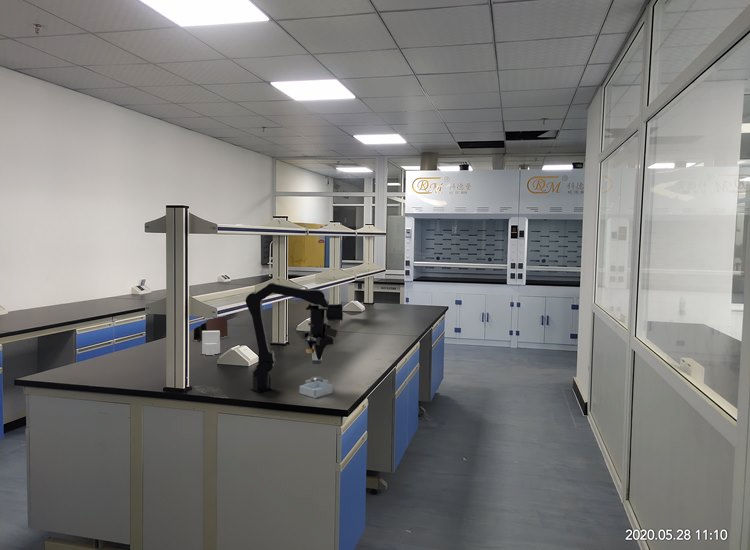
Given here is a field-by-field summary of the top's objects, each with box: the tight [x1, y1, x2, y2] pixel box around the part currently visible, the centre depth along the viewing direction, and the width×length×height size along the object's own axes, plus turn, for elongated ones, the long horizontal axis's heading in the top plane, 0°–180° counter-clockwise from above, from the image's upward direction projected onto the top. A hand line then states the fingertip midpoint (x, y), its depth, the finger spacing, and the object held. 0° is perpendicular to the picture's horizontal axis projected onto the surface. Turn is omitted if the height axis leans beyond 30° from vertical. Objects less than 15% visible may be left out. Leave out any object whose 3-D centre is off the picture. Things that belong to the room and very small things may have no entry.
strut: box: [305, 345, 323, 365], centre depth 213 cm, size 4×6×7 cm, turn 121°
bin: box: [298, 381, 334, 399], centre depth 209 cm, size 10×9×3 cm
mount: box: [304, 376, 329, 385], centre depth 222 cm, size 7×7×2 cm
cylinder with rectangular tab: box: [201, 331, 221, 356], centre depth 277 cm, size 9×9×12 cm
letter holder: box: [193, 315, 228, 342], centre depth 317 cm, size 10×20×14 cm, turn 160°
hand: (316, 358), depth 214 cm, fingers closed on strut, 4 cm apart
